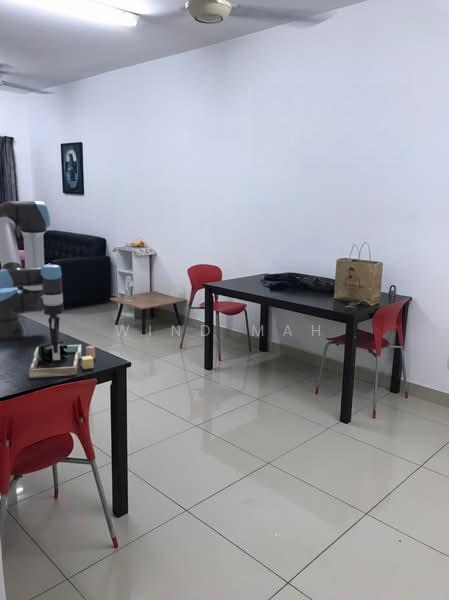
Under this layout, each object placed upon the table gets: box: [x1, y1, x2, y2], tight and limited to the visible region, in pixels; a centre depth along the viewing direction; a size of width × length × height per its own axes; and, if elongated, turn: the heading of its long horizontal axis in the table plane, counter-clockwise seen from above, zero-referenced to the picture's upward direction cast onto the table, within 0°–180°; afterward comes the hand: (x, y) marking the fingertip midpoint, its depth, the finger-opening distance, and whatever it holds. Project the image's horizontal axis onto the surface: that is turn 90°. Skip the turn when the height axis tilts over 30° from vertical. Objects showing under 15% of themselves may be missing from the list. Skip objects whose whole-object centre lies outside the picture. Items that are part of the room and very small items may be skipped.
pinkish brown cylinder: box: [85, 345, 96, 360], centre depth 202 cm, size 4×4×5 cm
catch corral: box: [33, 344, 83, 360], centre depth 204 cm, size 10×18×3 cm, turn 104°
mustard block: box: [80, 355, 95, 370], centre depth 193 cm, size 4×4×4 cm
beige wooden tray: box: [28, 352, 80, 379], centre depth 191 cm, size 18×17×3 cm
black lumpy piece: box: [38, 340, 69, 364], centre depth 200 cm, size 10×7×7 cm
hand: (56, 359), depth 195 cm, fingers closed
